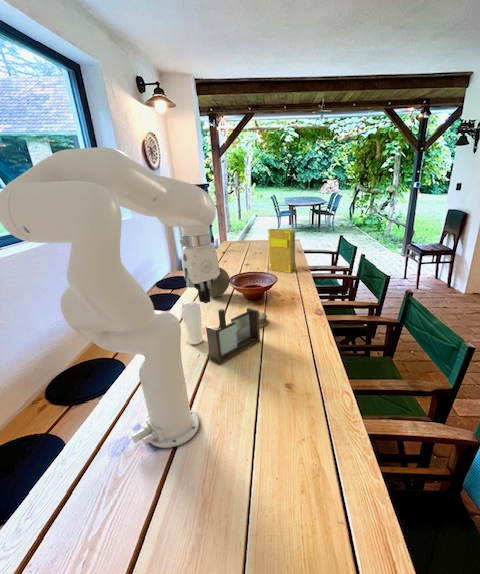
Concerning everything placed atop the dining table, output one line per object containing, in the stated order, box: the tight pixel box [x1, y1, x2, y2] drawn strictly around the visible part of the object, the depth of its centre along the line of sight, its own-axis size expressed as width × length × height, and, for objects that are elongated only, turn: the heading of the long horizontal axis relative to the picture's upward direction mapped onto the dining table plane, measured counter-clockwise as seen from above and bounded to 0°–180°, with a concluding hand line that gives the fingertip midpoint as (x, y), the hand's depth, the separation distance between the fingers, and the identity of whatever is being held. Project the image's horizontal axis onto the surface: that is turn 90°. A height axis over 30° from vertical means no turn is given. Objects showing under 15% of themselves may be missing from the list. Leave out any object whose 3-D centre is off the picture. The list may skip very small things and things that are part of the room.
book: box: [267, 228, 296, 274], centre depth 202 cm, size 17×7×25 cm, turn 58°
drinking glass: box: [180, 301, 203, 345], centre depth 119 cm, size 7×7×15 cm
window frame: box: [205, 307, 261, 365], centre depth 112 cm, size 20×5×12 cm, turn 139°
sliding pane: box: [218, 308, 237, 356], centre depth 107 cm, size 8×2×16 cm, turn 139°
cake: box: [259, 311, 268, 328], centre depth 134 cm, size 10×10×5 cm
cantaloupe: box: [209, 267, 231, 298], centre depth 164 cm, size 14×14×15 cm
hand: (205, 301), depth 97 cm, fingers closed
